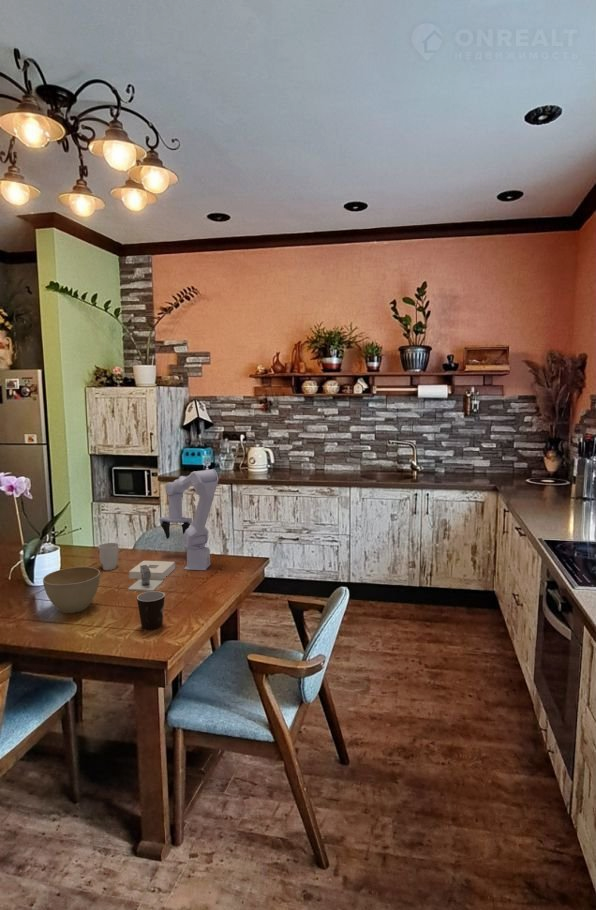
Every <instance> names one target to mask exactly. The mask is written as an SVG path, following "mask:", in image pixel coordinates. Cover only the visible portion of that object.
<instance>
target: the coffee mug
mask: <svg viewBox="0 0 596 910" xmlns="http://www.w3.org/2000/svg"><path fill="white" fill-rule="evenodd" d="M165 595H166V594H165V593H164V592H163V591H157V590H154V591H144V592H142V593H140V594H138V595H137V597H136V601H137V608H138V613H139V618H140V619H139V620H140V625H141V629H142V630H144V631H156V630H159V629H161V628H162V627H161V626H163V619H164V608H165V597H166V596H165ZM158 628H159V629H158ZM155 629H156V630H155Z"/></svg>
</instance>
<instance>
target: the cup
mask: <svg viewBox="0 0 596 910" xmlns="http://www.w3.org/2000/svg"><path fill="white" fill-rule="evenodd" d="M97 547H98V549H97V550H98V556H99V560H100V564H101V568H102V570H103V571H112V569H113V570H115V569H116V568H117V564H118V558H119V543H117V542H106V543H101V544H99V545H98V546H97Z"/></svg>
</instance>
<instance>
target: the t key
mask: <svg viewBox="0 0 596 910" xmlns="http://www.w3.org/2000/svg"><path fill="white" fill-rule="evenodd" d="M140 572H141V574H142V575H141V577H142V579H141V580H142V586H148V585H150V577H151V574H150V570H149V568H148V566H147V565H142V566H140Z"/></svg>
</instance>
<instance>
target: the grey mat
mask: <svg viewBox="0 0 596 910" xmlns="http://www.w3.org/2000/svg"><path fill="white" fill-rule="evenodd" d="M163 583H164V580H150V585H148V586H142V579H137V581H136V582H134V583H133V584H132V585H130V587H128V588H127V590H128V591H133V590H136V591H138V592H150V591H156V590H157V589H158V588H159V587H160V586H161V585H162V584H163ZM157 587H158V588H157Z"/></svg>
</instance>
